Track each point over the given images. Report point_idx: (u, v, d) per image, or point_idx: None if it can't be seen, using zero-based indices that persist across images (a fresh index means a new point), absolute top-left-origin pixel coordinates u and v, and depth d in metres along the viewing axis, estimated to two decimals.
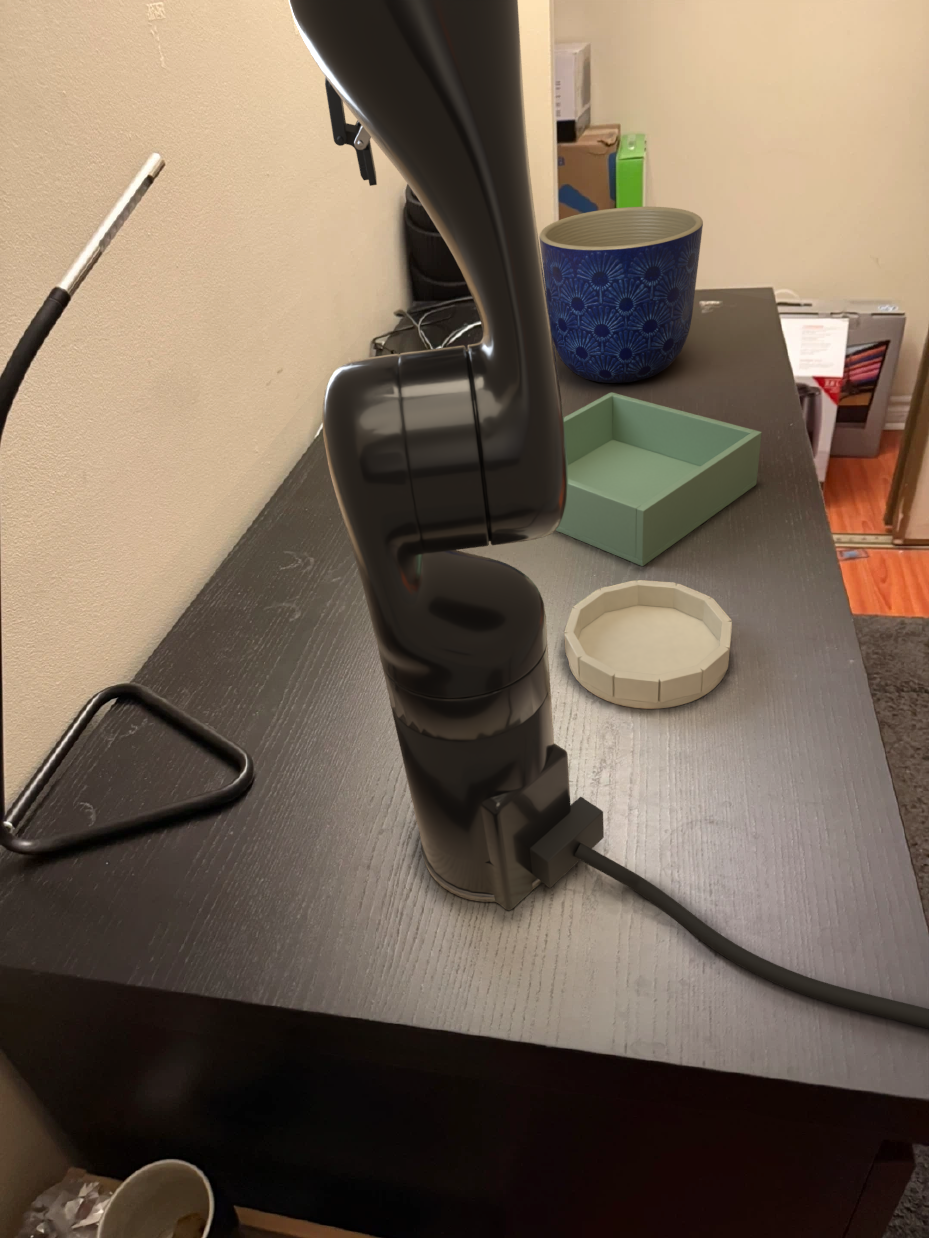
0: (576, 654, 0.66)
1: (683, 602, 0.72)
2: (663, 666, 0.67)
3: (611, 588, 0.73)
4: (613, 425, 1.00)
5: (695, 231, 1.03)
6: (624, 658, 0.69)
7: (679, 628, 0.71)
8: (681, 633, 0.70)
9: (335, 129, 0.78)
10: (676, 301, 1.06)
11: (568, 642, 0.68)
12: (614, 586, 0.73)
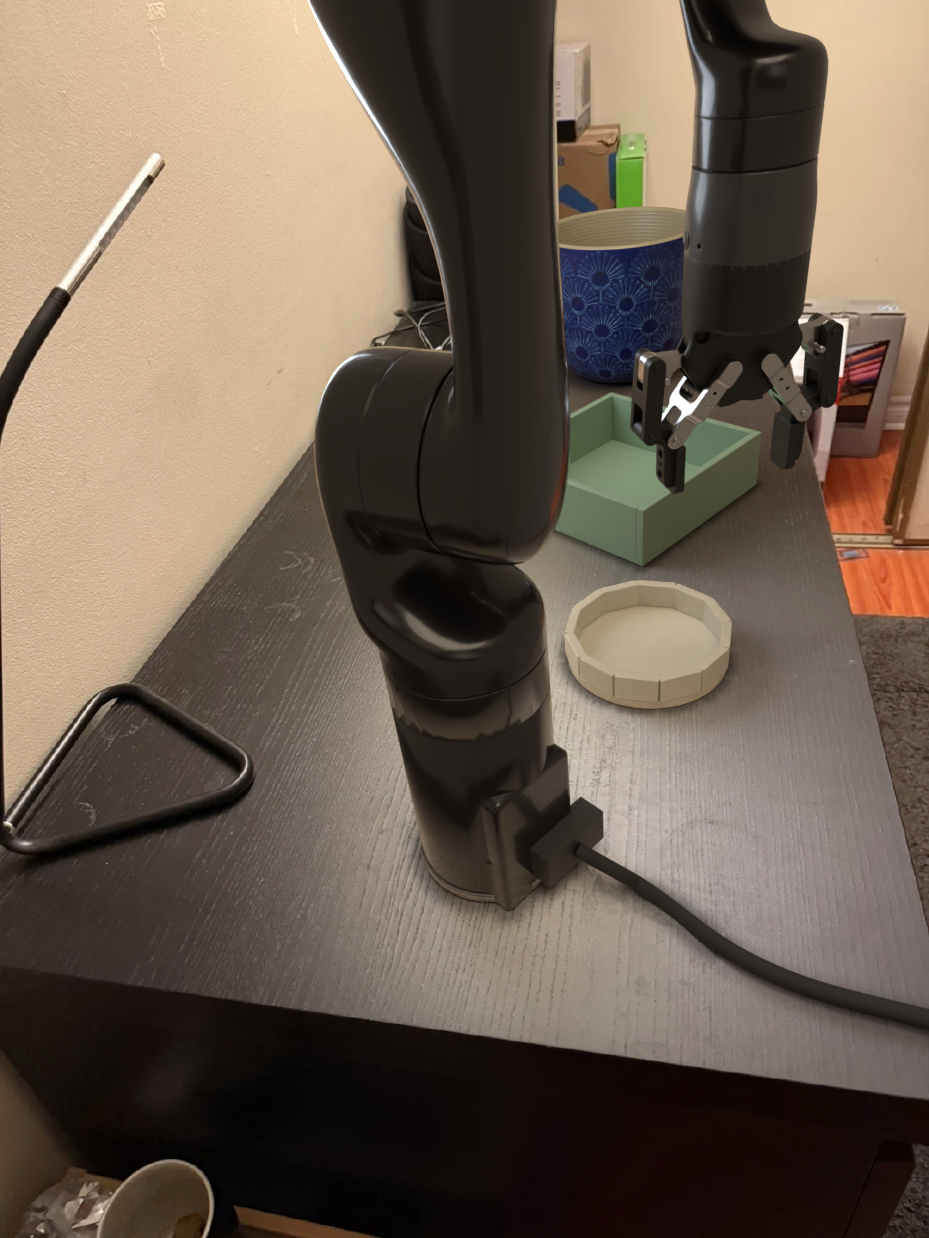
0: (576, 654, 0.66)
1: (683, 602, 0.72)
2: (663, 666, 0.67)
3: (611, 588, 0.73)
4: (613, 425, 1.00)
5: None
6: (624, 658, 0.69)
7: (679, 628, 0.71)
8: (681, 633, 0.70)
9: (648, 425, 0.56)
10: (676, 301, 1.06)
11: (568, 642, 0.68)
12: (614, 586, 0.73)
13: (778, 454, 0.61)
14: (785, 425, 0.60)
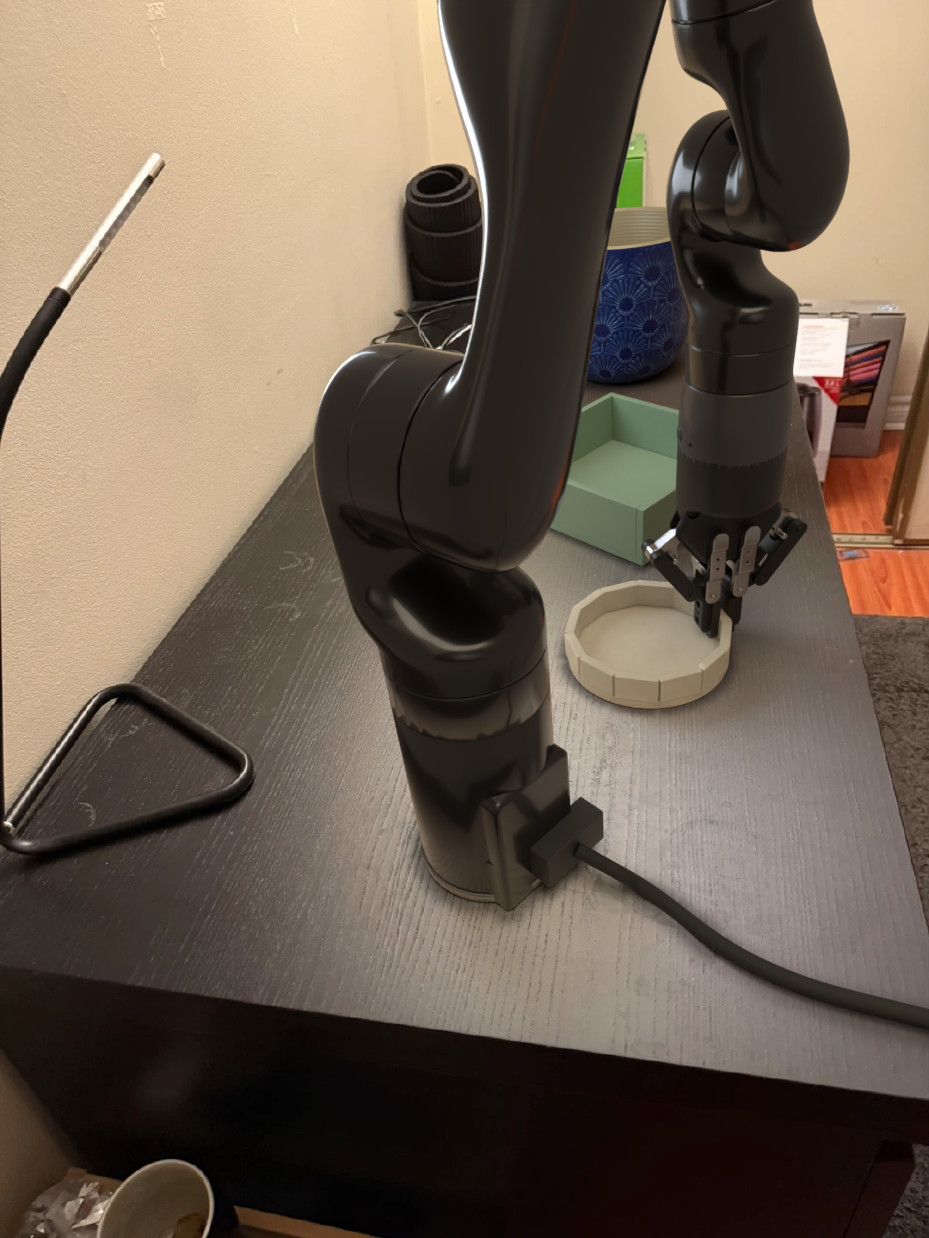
0: (577, 654, 0.66)
1: (683, 602, 0.72)
2: (663, 666, 0.67)
3: (611, 588, 0.73)
4: (613, 425, 1.00)
5: None
6: (624, 658, 0.69)
7: (679, 628, 0.71)
8: (681, 633, 0.70)
9: (683, 591, 0.65)
10: (676, 301, 1.06)
11: (568, 642, 0.68)
12: (614, 586, 0.73)
13: None
14: (725, 598, 0.68)
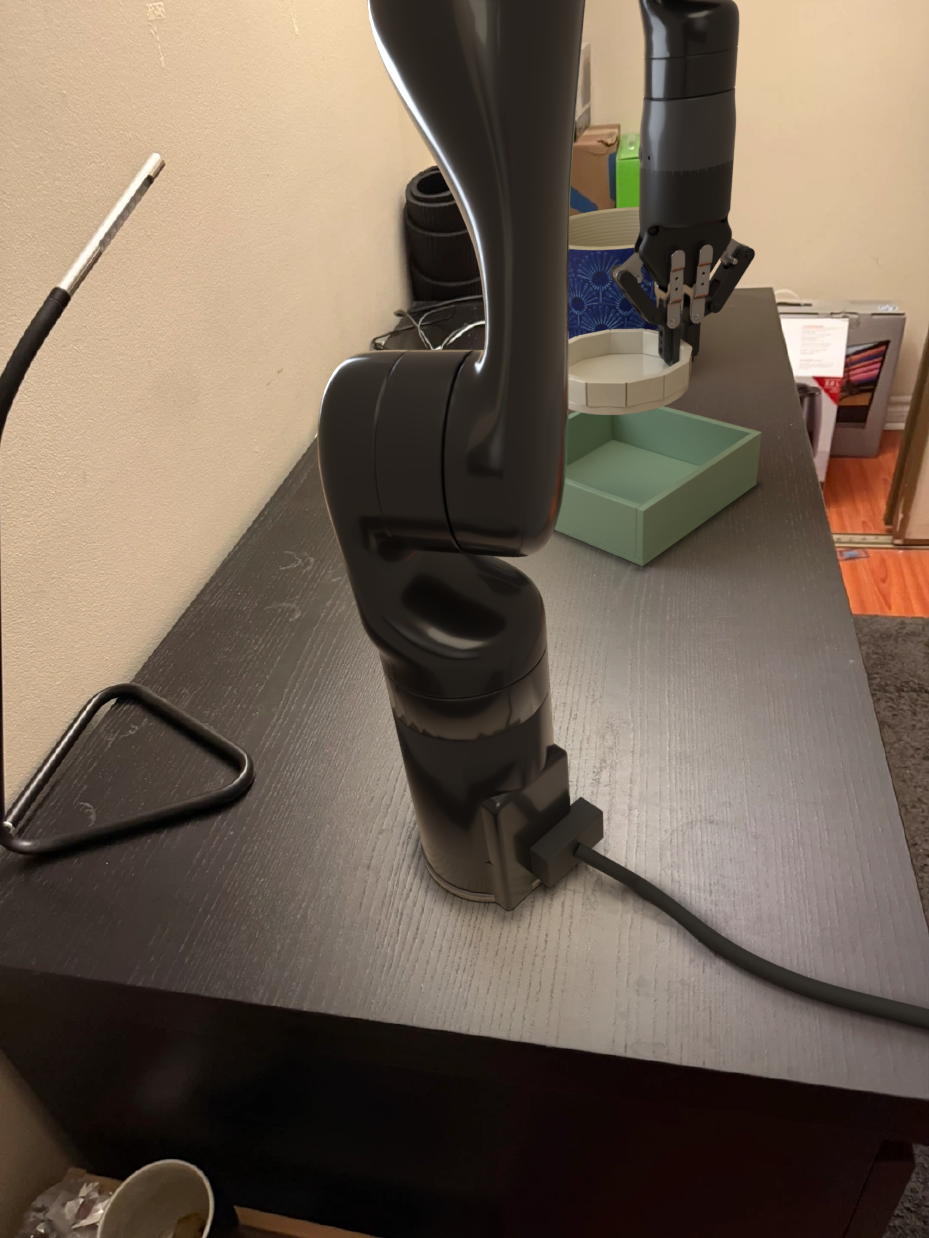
0: None
1: (651, 345, 0.81)
2: None
3: (588, 335, 0.82)
4: (613, 425, 1.00)
5: None
6: None
7: (647, 365, 0.80)
8: (648, 367, 0.80)
9: (647, 313, 0.75)
10: None
11: None
12: (590, 334, 0.82)
13: None
14: (685, 327, 0.77)
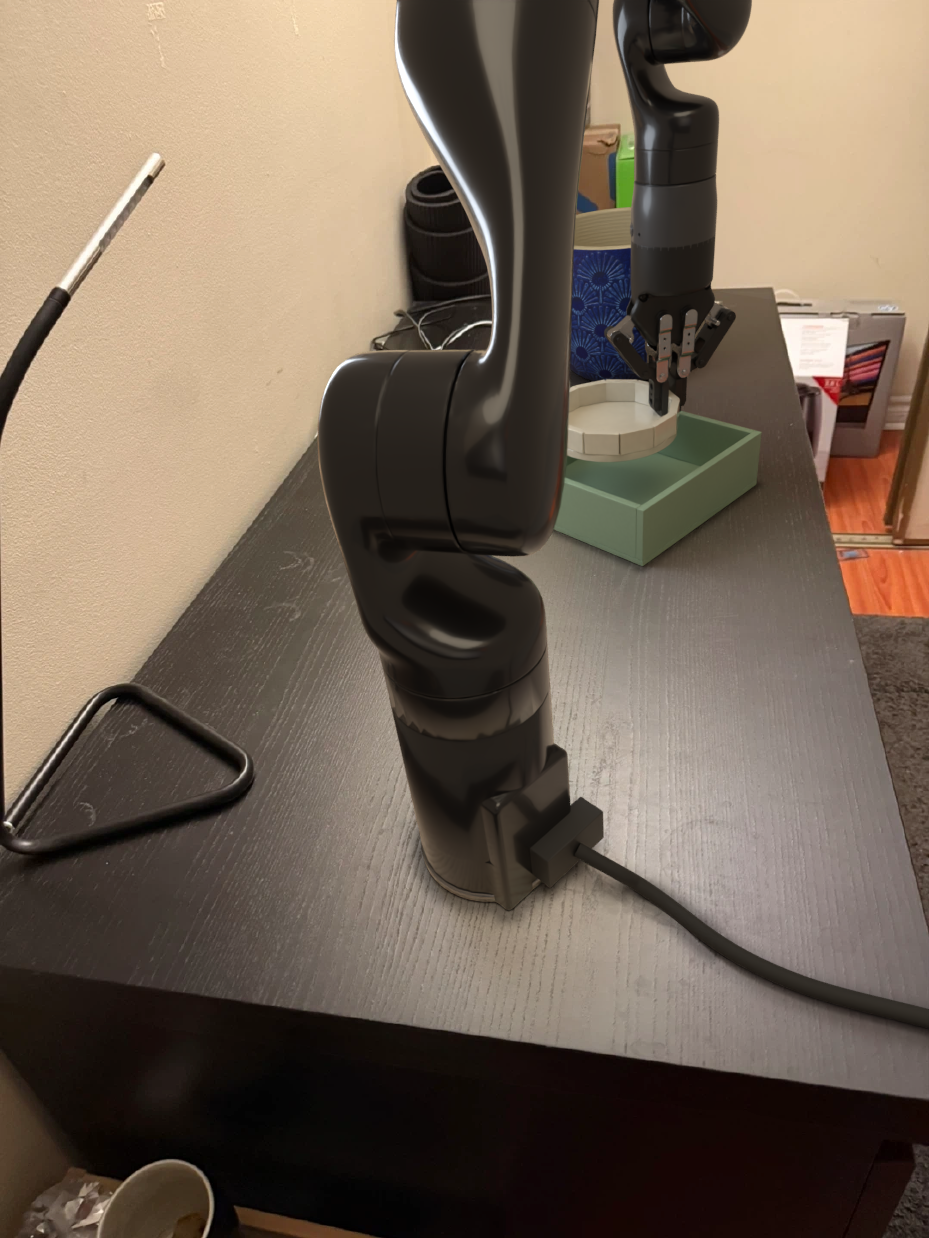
0: None
1: (643, 394, 0.88)
2: None
3: (585, 385, 0.89)
4: None
5: None
6: None
7: (639, 413, 0.87)
8: (640, 416, 0.87)
9: (638, 369, 0.82)
10: None
11: None
12: (587, 384, 0.89)
13: None
14: (673, 380, 0.85)
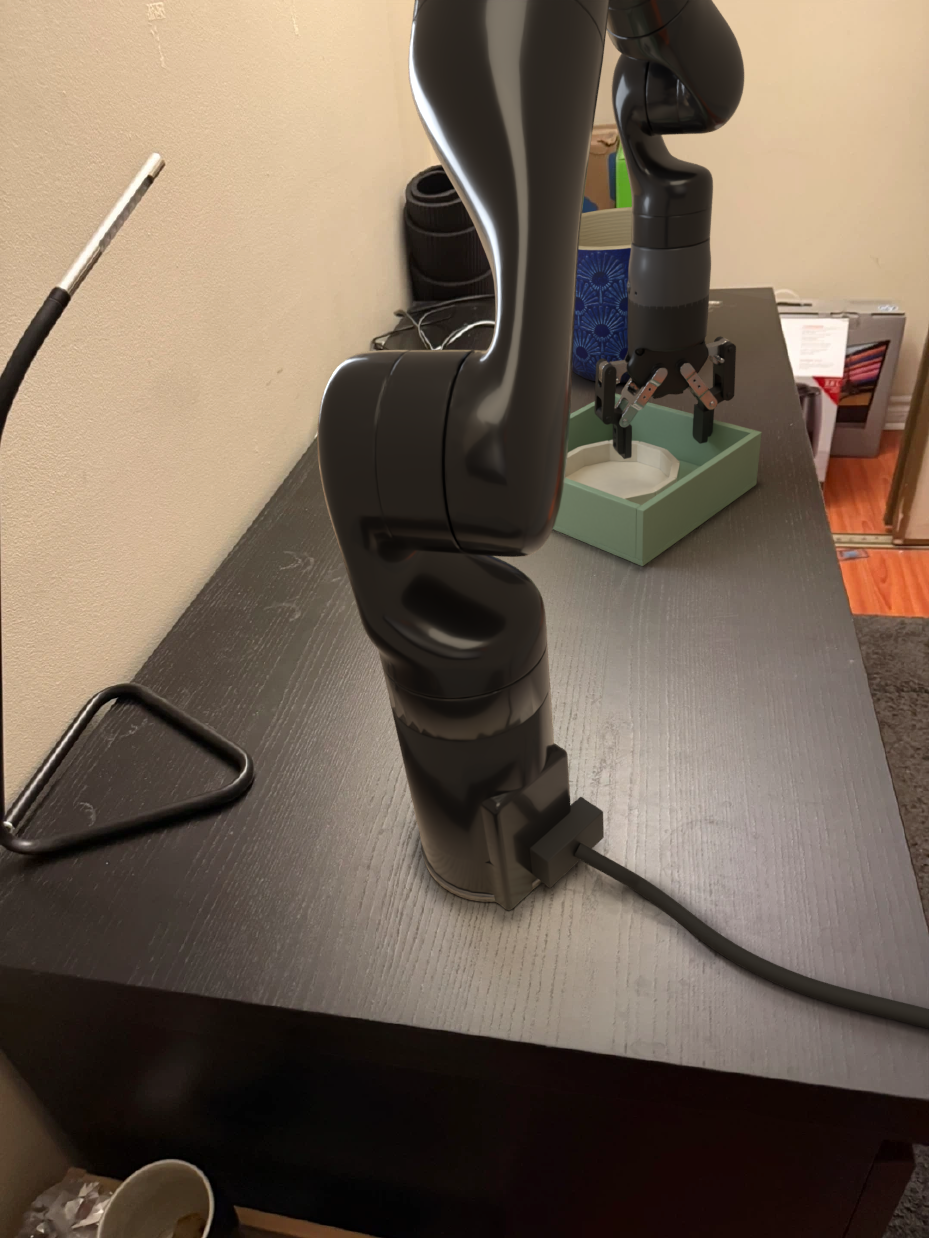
0: None
1: (645, 455, 0.93)
2: None
3: (589, 446, 0.94)
4: None
5: None
6: None
7: (641, 474, 0.92)
8: (642, 476, 0.91)
9: (605, 410, 0.84)
10: None
11: None
12: (591, 444, 0.94)
13: (697, 433, 0.89)
14: (700, 412, 0.87)
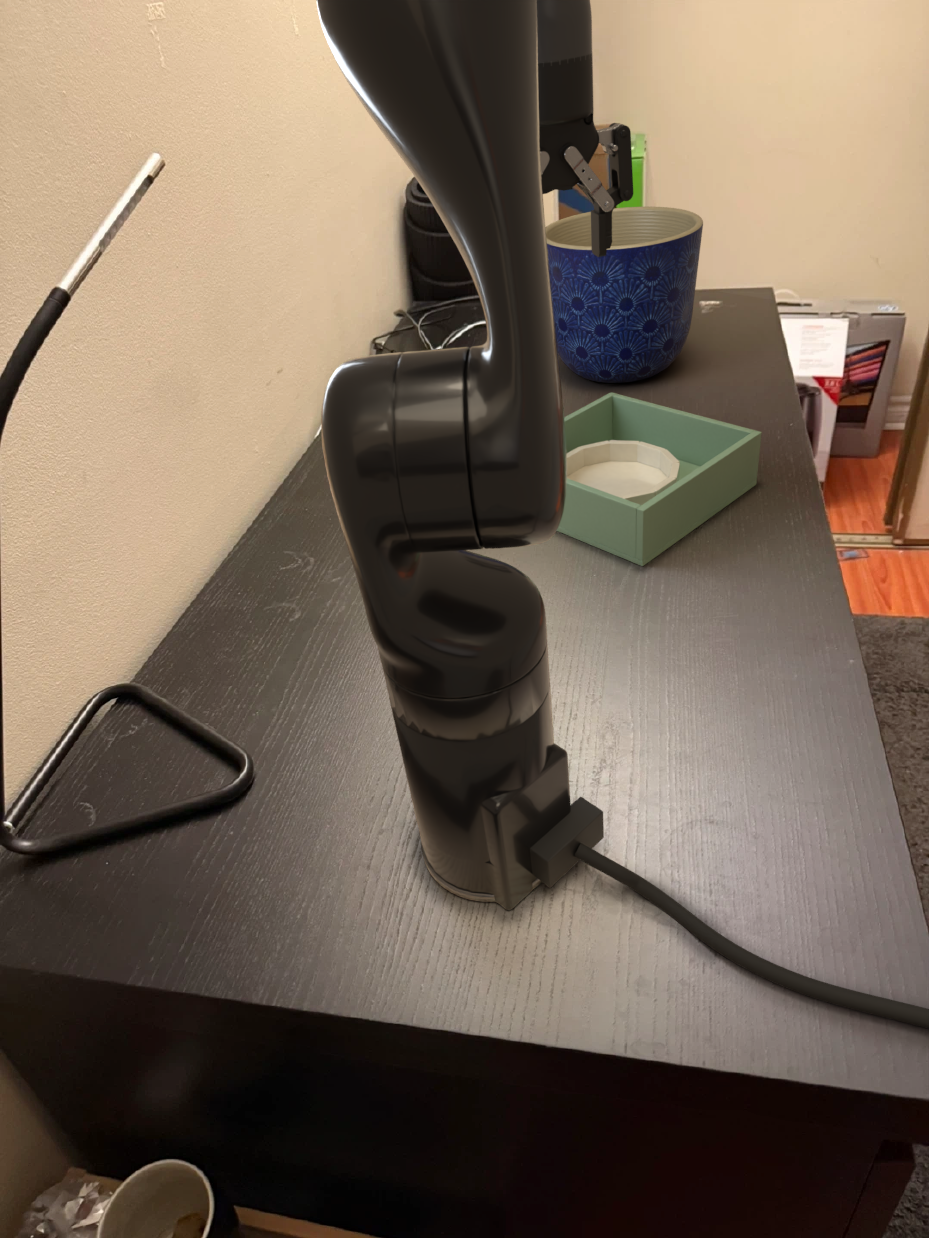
0: None
1: (645, 455, 0.93)
2: None
3: (589, 446, 0.94)
4: (613, 425, 1.00)
5: (696, 231, 1.03)
6: None
7: (641, 474, 0.92)
8: (642, 476, 0.91)
9: None
10: (676, 301, 1.06)
11: None
12: (591, 444, 0.94)
13: (595, 245, 0.78)
14: (596, 217, 0.76)
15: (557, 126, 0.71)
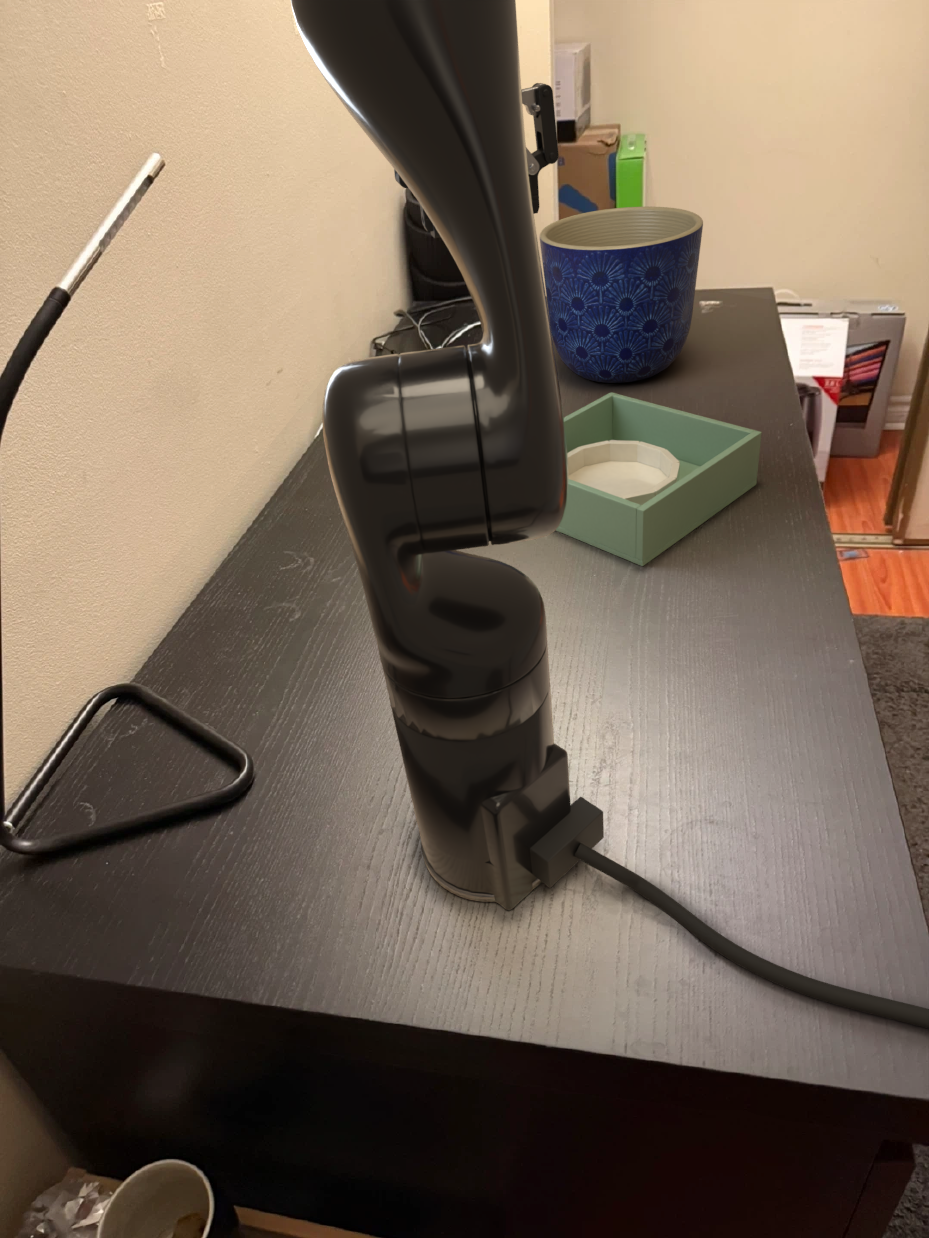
0: None
1: (645, 455, 0.93)
2: None
3: (589, 446, 0.94)
4: (613, 425, 1.00)
5: (696, 231, 1.03)
6: None
7: (641, 474, 0.92)
8: (642, 476, 0.91)
9: None
10: (676, 301, 1.06)
11: None
12: (591, 444, 0.94)
13: None
14: None
15: None
